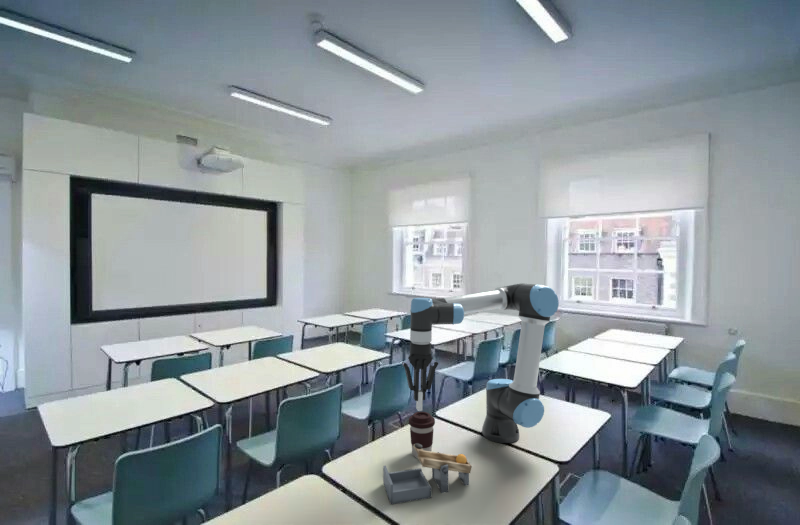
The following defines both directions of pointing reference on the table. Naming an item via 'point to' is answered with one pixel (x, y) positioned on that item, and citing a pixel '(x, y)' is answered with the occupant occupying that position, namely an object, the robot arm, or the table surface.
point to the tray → (406, 485)
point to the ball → (461, 459)
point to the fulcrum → (441, 477)
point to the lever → (440, 460)
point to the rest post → (464, 478)
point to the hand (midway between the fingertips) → (419, 409)
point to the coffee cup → (421, 431)
